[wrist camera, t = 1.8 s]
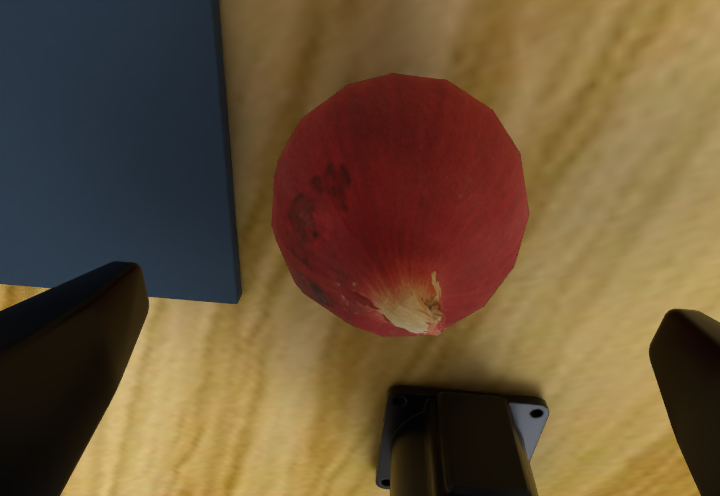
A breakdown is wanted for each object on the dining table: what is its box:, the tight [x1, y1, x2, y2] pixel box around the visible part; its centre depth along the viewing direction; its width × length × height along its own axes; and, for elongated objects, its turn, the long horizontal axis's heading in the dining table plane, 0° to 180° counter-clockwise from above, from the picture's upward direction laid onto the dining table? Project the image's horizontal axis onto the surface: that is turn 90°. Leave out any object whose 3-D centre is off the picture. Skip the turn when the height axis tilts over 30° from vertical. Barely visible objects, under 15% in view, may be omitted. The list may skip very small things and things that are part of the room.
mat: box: [0, 0, 242, 304], centre depth 13 cm, size 18×10×1 cm, turn 176°
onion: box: [272, 73, 529, 337], centre depth 11 cm, size 6×6×8 cm
